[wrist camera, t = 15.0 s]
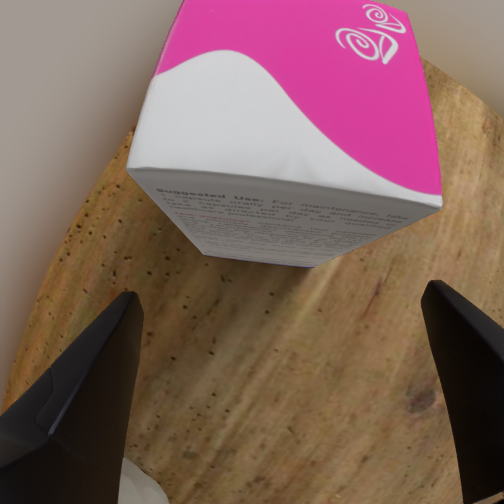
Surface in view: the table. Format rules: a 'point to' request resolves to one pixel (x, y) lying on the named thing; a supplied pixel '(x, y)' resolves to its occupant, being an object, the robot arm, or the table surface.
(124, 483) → the ceramic sculpture
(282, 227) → the supplement box
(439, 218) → the table surface
